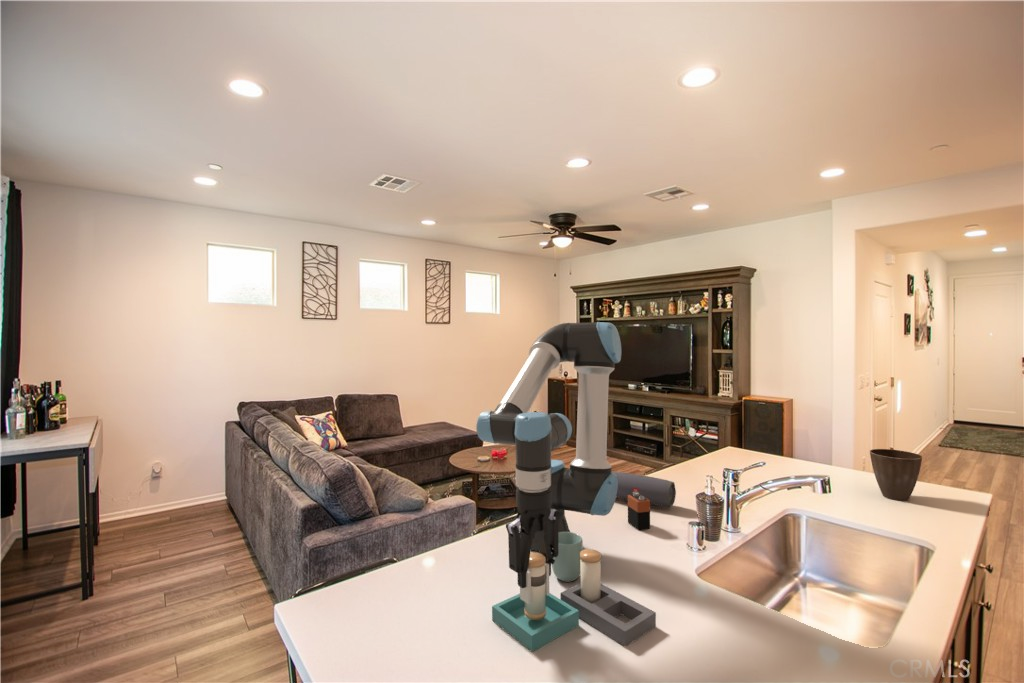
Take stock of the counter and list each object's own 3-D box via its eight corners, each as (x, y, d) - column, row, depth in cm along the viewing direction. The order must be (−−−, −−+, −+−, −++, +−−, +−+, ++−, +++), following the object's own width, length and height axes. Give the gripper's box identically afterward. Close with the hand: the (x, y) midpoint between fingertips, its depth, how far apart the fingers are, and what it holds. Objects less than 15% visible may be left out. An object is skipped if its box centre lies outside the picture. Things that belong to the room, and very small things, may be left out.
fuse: (576, 606, 107) (575, 553, 107) (590, 598, 110) (589, 547, 110) (591, 615, 104) (591, 560, 103) (605, 607, 106) (605, 554, 106)
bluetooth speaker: (605, 501, 173) (605, 473, 173) (615, 493, 181) (615, 467, 181) (668, 513, 160) (668, 484, 160) (676, 505, 168) (676, 477, 168)
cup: (562, 588, 114) (562, 547, 114) (545, 574, 121) (545, 535, 121) (588, 580, 118) (588, 540, 118) (570, 567, 125) (570, 529, 125)
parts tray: (492, 620, 102) (492, 606, 102) (537, 598, 110) (537, 585, 110) (532, 651, 92) (531, 635, 92) (578, 625, 100) (578, 610, 100)
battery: (639, 521, 155) (638, 490, 154) (650, 529, 148) (650, 497, 148) (627, 522, 153) (626, 491, 153) (638, 531, 147) (638, 498, 147)
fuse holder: (560, 606, 107) (560, 592, 107) (590, 590, 113) (590, 578, 113) (625, 646, 93) (625, 631, 93) (655, 626, 99) (655, 612, 99)
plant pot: (859, 491, 180) (859, 449, 180) (895, 489, 182) (895, 447, 181) (895, 505, 165) (895, 459, 165) (933, 503, 167) (933, 458, 167)
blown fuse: (519, 612, 101) (519, 557, 101) (536, 605, 104) (535, 550, 104) (534, 623, 98) (533, 565, 98) (550, 614, 101) (550, 558, 100)
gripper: (512, 501, 92) (513, 620, 93) (575, 482, 103) (576, 589, 104) (489, 491, 98) (491, 603, 99) (551, 474, 109) (552, 576, 109)
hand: (534, 596), depth 101 cm, fingers closed on blown fuse, 4 cm apart
